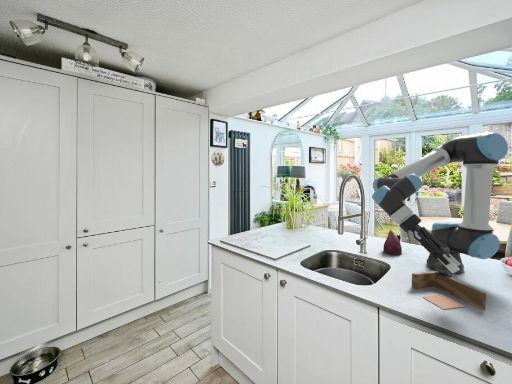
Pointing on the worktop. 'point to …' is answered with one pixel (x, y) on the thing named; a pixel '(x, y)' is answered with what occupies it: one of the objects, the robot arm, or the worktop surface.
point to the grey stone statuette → (439, 266)
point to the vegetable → (392, 245)
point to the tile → (443, 301)
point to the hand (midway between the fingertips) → (456, 268)
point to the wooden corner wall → (450, 287)
